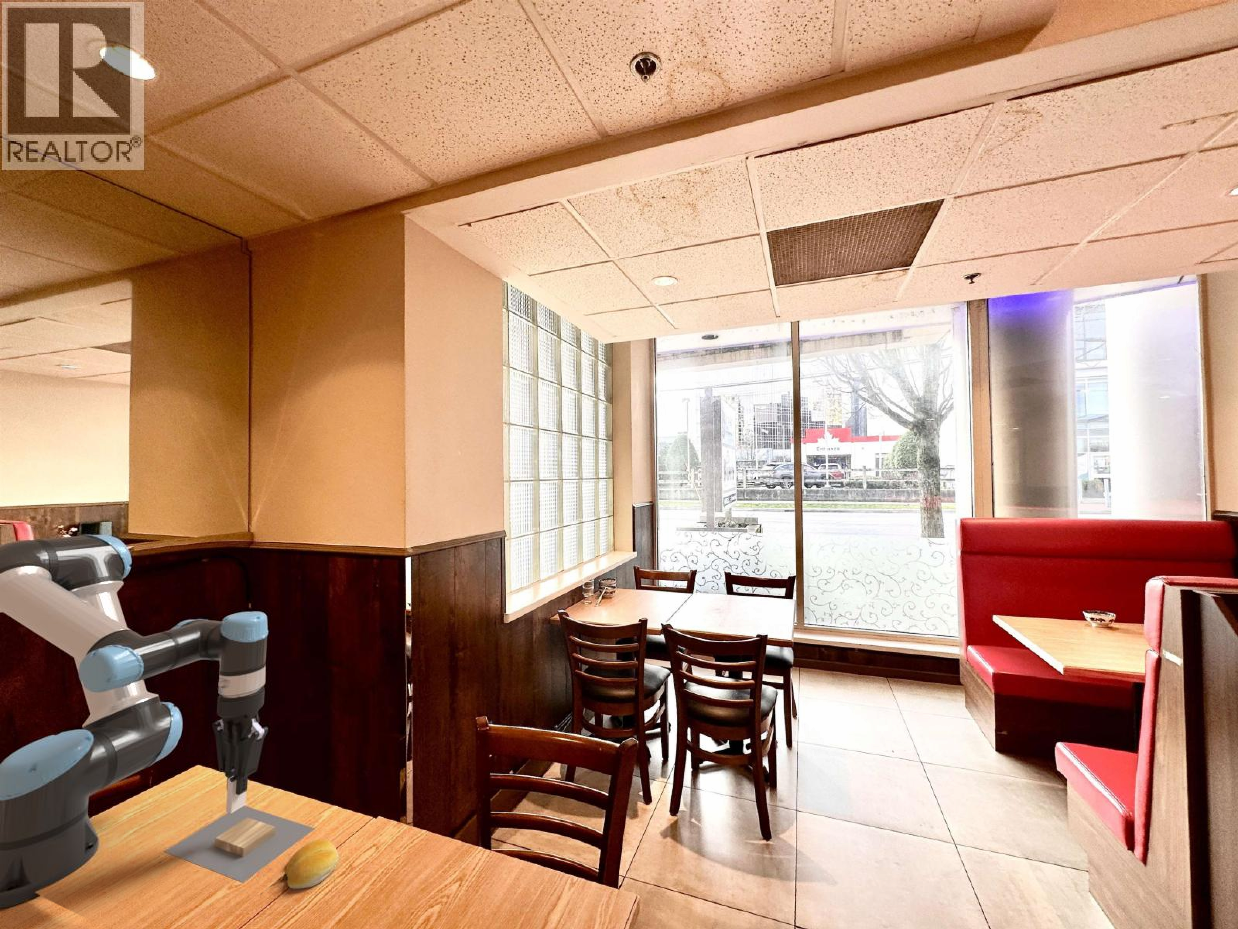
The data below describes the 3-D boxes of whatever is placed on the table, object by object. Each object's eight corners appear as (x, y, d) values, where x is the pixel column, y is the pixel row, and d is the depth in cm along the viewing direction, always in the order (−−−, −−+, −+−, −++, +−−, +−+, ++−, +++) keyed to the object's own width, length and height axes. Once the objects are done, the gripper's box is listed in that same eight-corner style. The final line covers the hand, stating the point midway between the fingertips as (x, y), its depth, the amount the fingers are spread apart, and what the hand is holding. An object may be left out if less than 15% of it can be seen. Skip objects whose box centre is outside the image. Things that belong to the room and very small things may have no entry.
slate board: (163, 857, 91) (163, 851, 91) (241, 810, 104) (241, 804, 104) (242, 889, 84) (243, 882, 84) (314, 834, 97) (315, 828, 97)
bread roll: (289, 900, 82) (290, 877, 82) (283, 868, 89) (284, 846, 89) (343, 874, 88) (343, 853, 88) (333, 846, 94) (334, 826, 95)
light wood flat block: (215, 838, 92) (243, 848, 90) (247, 817, 98) (275, 826, 95) (214, 846, 92) (243, 857, 90) (247, 825, 98) (274, 835, 95)
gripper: (199, 693, 94) (192, 813, 93) (244, 703, 90) (238, 829, 89) (239, 678, 102) (233, 790, 100) (282, 687, 97) (277, 803, 96)
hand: (236, 808), depth 95 cm, fingers closed
